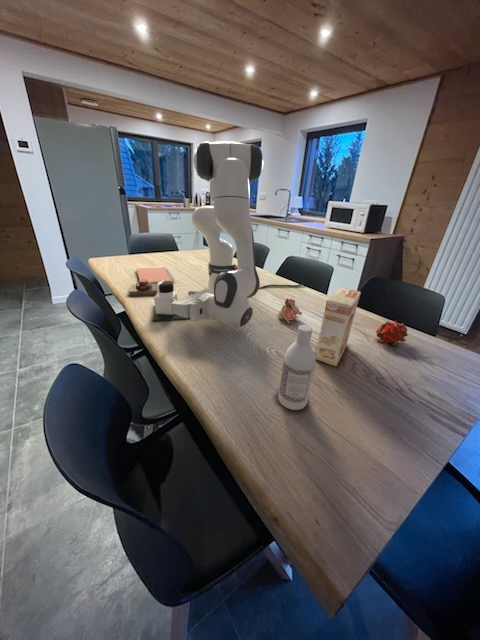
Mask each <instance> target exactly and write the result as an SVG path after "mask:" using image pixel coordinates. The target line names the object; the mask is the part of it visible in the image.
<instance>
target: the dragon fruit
mask: <svg viewBox="0 0 480 640" xmlns="http://www.w3.org/2000/svg"><path fill="white" fill-rule="evenodd" d="M375 333H376V337H377V338H378V340H377V342H380V343H383V344H387V343H390V344H391V346H395V345H396V346H397V344H398V342H400V343H405V342H406V337H408V328H407V326H406V325H405V324H404V323H399V322H398V321H397V320H394V321H393V322H391V321H390V320H388V321H386V322H385V323H382V324H380V325H379V328H378V329H376V331H375Z"/></svg>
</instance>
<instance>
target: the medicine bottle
mask: <svg viewBox="0 0 480 640" xmlns="http://www.w3.org/2000/svg"><path fill="white" fill-rule="evenodd" d="M157 290H158V294H157V295H154V297H153V300H154V306H155V311H156V314H167V315H174V313H173V312H172V310H171V302H170V298H173V297H174V298H176V299H177V300H179V299H178V291H175V289H174V282H173V283H172V282H170V281H161V282H159V283H158V284H157Z"/></svg>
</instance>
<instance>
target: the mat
mask: <svg viewBox="0 0 480 640" xmlns="http://www.w3.org/2000/svg"><path fill="white" fill-rule="evenodd" d="M180 320H181V321H183V320H190V318H185V317H181V316H179V315H176V314H174V315H167V314H156V311H155V305H154V306H153V316H152V321H153V322H166V321H167V322H169V321H180Z"/></svg>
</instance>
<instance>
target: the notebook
mask: <svg viewBox="0 0 480 640" xmlns="http://www.w3.org/2000/svg"><path fill="white" fill-rule="evenodd" d="M136 274H137V278H138V281H139V280H141V279H147V280H148V282H151V284H158V283H159V282H161V281H170V282H172V283H173V284H174V281H175V280H174V278H173V276H172V275H171V273H170V272H169V271H168V269H167V268H166V267H164V266H162V267H160V266H159V267H144V268H143V267H141V268H136Z"/></svg>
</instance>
